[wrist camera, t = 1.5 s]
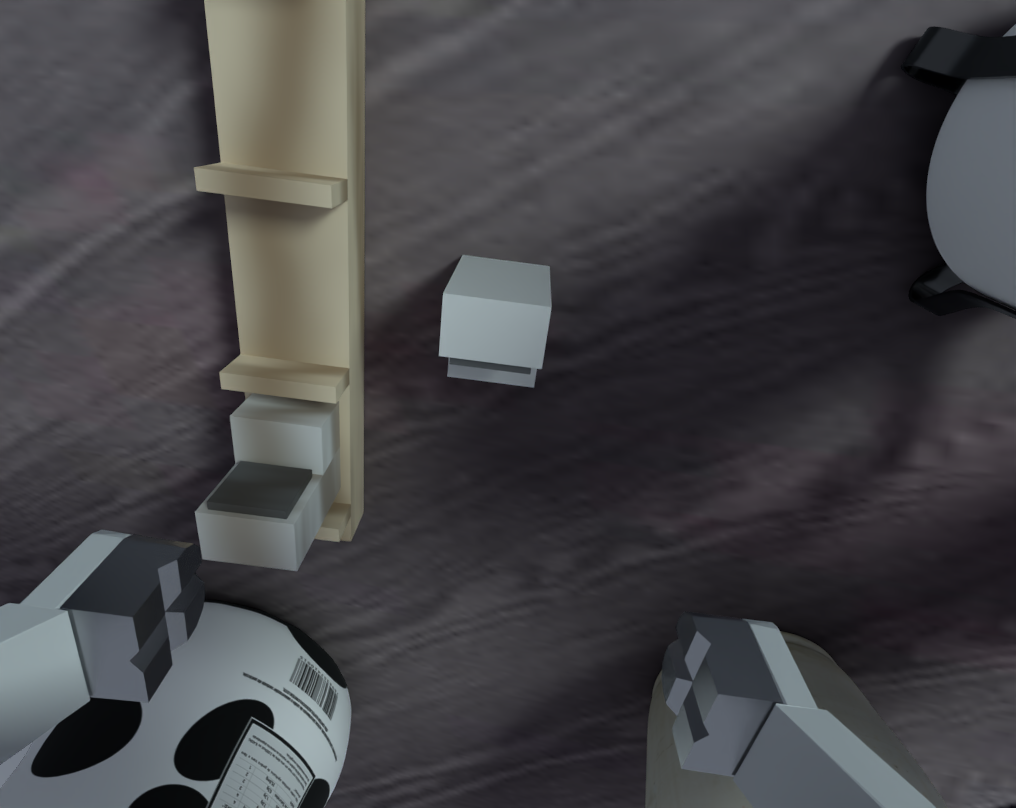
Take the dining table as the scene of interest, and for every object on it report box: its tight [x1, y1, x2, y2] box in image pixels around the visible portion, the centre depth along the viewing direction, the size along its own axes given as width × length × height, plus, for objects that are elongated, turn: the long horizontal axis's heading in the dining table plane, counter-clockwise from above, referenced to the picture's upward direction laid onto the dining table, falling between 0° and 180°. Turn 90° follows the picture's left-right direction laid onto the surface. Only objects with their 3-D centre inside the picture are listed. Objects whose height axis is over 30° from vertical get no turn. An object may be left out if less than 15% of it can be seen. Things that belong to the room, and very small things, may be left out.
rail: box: [194, 0, 365, 571], centre depth 23 cm, size 5×28×8 cm, turn 173°
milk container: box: [0, 600, 351, 808], centre depth 33 cm, size 17×17×18 cm
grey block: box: [439, 255, 552, 388], centre depth 25 cm, size 4×5×6 cm
